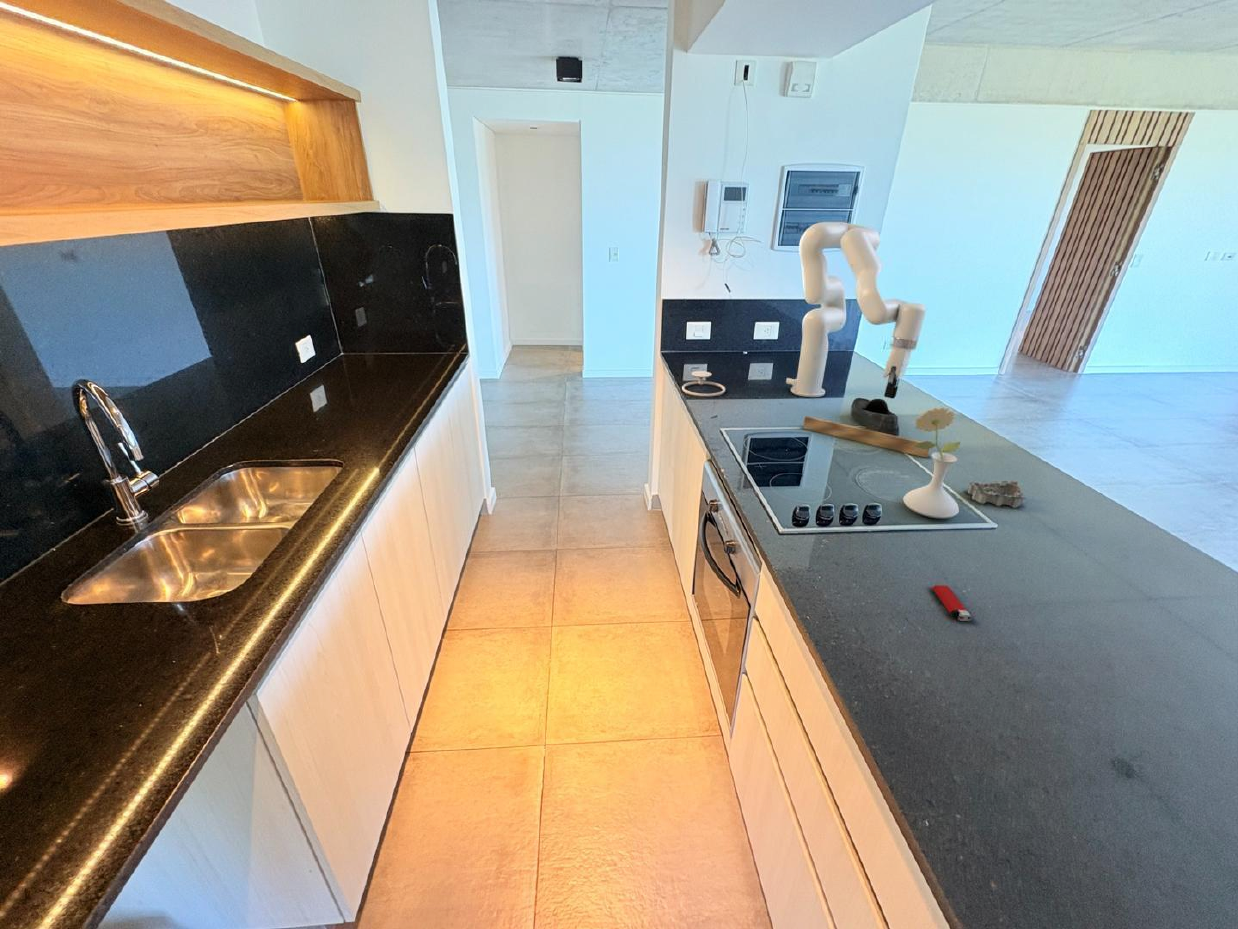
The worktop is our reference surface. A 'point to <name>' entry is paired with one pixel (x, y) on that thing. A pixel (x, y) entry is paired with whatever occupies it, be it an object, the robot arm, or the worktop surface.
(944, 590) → the lighter
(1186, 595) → the worktop surface
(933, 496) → the flower in vase
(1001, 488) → the egg carton
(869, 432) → the long wooden plank
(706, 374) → the hand towel holder
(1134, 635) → the worktop surface
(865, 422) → the loafer
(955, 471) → the worktop surface
